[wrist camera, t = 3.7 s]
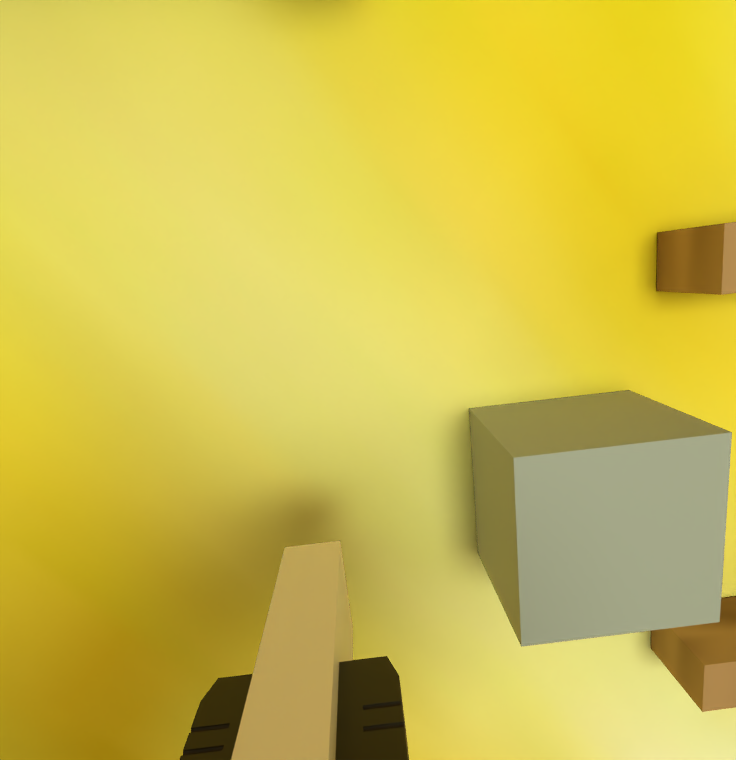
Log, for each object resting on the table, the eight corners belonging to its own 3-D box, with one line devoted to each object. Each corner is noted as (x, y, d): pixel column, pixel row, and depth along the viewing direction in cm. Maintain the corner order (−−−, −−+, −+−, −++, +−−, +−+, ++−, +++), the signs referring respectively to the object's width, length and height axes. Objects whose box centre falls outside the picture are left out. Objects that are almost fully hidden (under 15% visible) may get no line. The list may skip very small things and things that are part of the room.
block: (476, 551, 19) (521, 646, 14) (467, 407, 18) (513, 457, 13) (624, 533, 19) (719, 621, 14) (626, 389, 18) (731, 432, 13)
